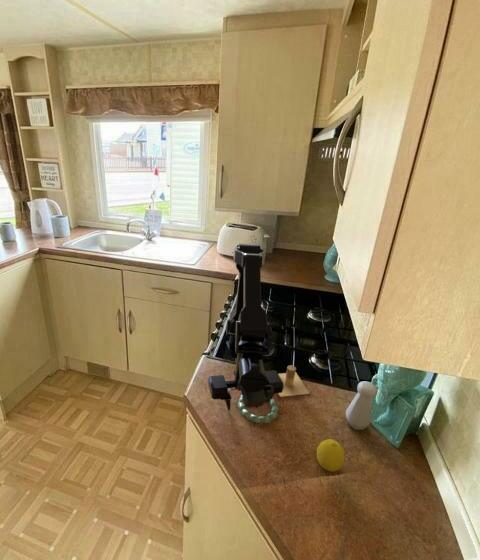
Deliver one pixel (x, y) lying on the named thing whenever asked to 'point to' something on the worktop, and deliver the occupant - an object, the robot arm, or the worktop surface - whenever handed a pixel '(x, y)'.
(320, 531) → the worktop surface
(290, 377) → the stand
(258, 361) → the robot arm
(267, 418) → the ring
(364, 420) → the salt shaker
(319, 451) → the lemon
